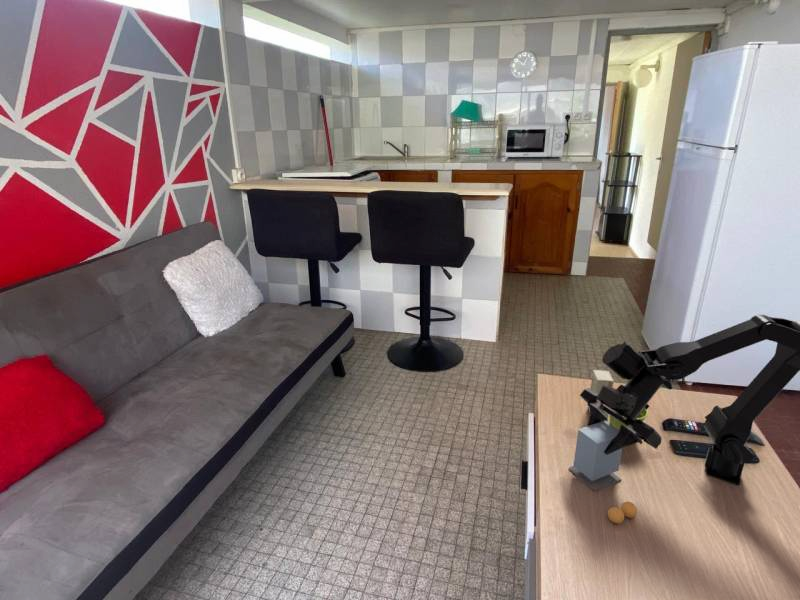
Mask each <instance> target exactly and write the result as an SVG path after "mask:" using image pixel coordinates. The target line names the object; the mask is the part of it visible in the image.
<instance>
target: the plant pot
mask: <svg viewBox="0 0 800 600" xmlns="http://www.w3.org/2000/svg"><path fill="white" fill-rule="evenodd" d="M617 413H618V412H617ZM648 416H649V411H648V409H647V410H646V409H645V408H643V410H642V411H641V412H640V413H639V415H638V416H637V417H636V419H637V420H641V421H643V422H644V421H645V419H646V418H647V417H648ZM623 417H624V416H623ZM626 419H627V418H626ZM609 423H610V424H611V425H612V426H614V427H615V428H617V429H618V430H620V427H621V425H623V426H624V427H626V428H627V426H626V425H625V424H623V423H622V422H620V421H619V420H617V419H616V418H614V417H613V416H611V415H610V414H609Z"/></svg>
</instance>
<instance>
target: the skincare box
mask: <svg viewBox="0 0 800 600" xmlns="http://www.w3.org/2000/svg"><path fill="white" fill-rule="evenodd" d="M590 383H591V385H590V389H591V390H593V391H594V392H596V393H598V394H599V392H600V390H601V388H602V386H603V385H604V386H608V387H611V388H614V378H613V376H612V374H611V373H610V371H608V370H600V369H593V370H592V377H591V382H590ZM587 408H588V412H589V413H590V407H589V406H588V405H587ZM604 416H605V417H606V418H607V421H608V420H609V416H610V414H608V413H605V414H604Z"/></svg>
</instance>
